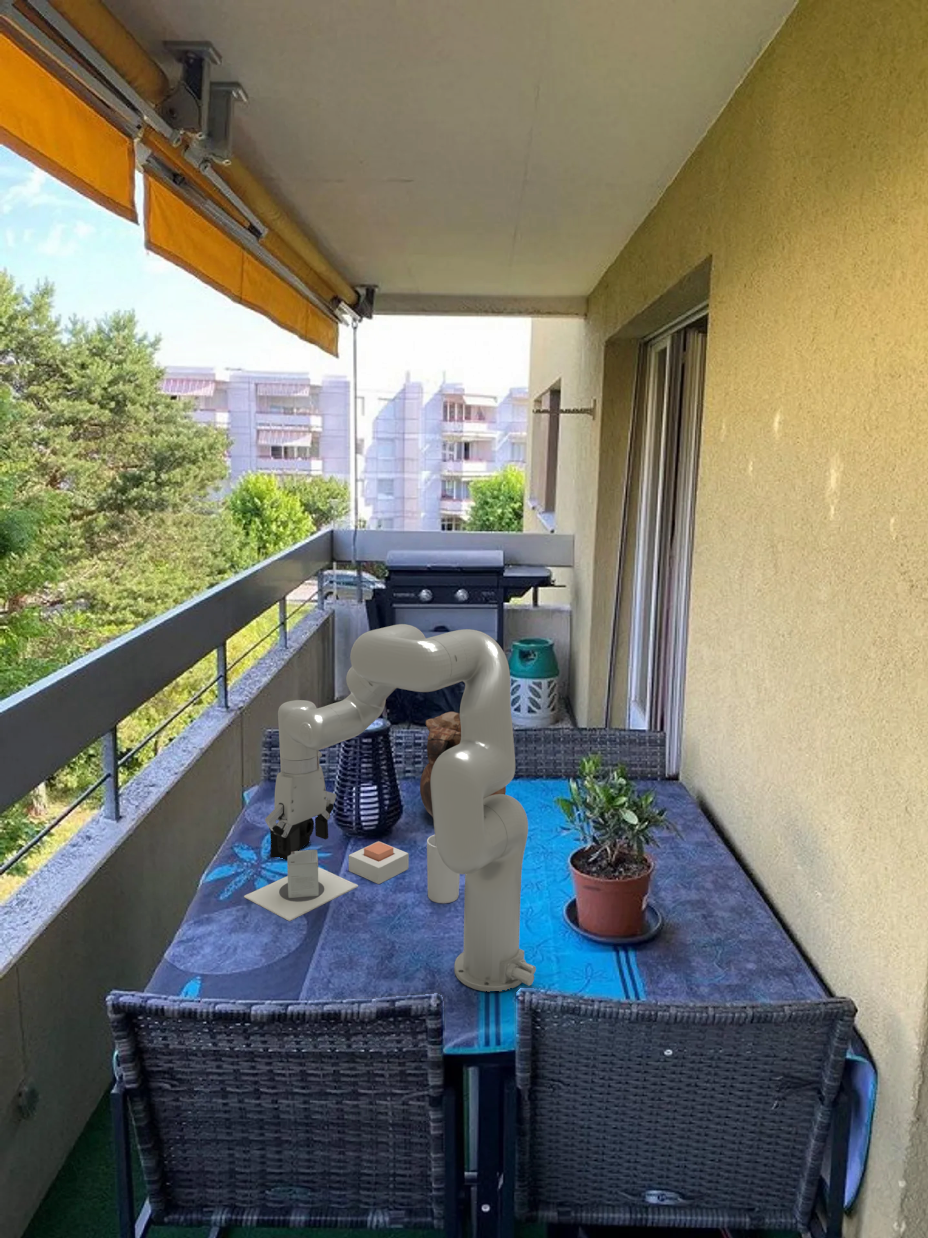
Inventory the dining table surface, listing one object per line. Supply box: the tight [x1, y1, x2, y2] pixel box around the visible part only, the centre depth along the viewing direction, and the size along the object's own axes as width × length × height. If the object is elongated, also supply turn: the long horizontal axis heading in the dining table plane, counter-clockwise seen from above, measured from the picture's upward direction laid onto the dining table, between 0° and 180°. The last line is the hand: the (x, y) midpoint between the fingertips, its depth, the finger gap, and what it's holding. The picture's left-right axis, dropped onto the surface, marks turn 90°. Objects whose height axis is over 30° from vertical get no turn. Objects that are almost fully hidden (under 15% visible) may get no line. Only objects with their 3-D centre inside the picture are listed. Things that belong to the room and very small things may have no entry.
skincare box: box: [286, 849, 319, 898], centre depth 178 cm, size 6×6×7 cm
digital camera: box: [269, 817, 315, 860], centre depth 197 cm, size 10×5×7 cm, turn 162°
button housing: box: [348, 840, 410, 885], centre depth 188 cm, size 9×9×4 cm
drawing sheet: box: [243, 866, 359, 922], centre depth 179 cm, size 14×18×1 cm
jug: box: [419, 711, 507, 818], centre depth 214 cm, size 22×21×25 cm
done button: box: [363, 841, 394, 862], centre depth 188 cm, size 4×4×2 cm
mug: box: [426, 834, 461, 904], centre depth 178 cm, size 10×7×12 cm, turn 167°
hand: (303, 845), depth 176 cm, fingers open, 9 cm apart
